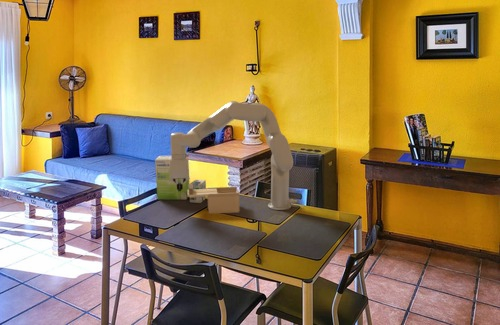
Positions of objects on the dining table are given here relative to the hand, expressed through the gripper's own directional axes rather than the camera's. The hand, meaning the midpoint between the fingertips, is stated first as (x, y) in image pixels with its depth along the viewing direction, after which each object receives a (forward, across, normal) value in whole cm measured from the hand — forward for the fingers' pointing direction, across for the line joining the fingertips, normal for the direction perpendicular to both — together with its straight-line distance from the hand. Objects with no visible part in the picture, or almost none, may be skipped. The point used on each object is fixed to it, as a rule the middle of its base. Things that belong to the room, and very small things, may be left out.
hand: (179, 190), depth 218 cm
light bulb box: (+12, -10, -18) cm, 23 cm away
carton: (+11, -23, 0) cm, 25 cm away
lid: (+2, -12, 0) cm, 12 cm away
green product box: (+12, +4, -25) cm, 28 cm away
